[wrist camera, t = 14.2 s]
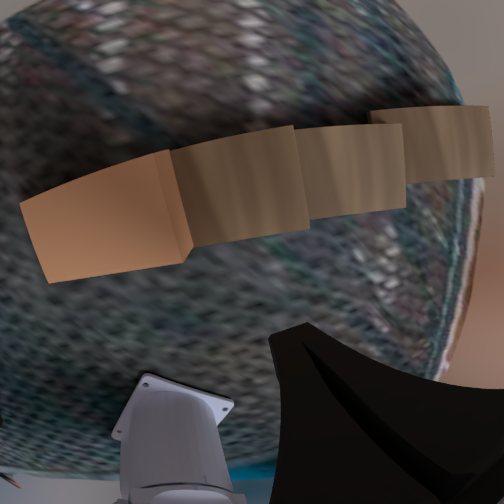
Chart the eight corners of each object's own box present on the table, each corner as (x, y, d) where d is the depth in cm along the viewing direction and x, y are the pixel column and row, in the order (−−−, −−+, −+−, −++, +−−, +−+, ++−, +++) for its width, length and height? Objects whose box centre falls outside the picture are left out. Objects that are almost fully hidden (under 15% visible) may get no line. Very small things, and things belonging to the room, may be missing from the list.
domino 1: (48, 283, 15) (183, 262, 13) (19, 203, 13) (153, 153, 12) (66, 268, 17) (193, 245, 15) (40, 194, 15) (168, 149, 13)
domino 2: (140, 256, 16) (310, 228, 14) (114, 167, 14) (293, 124, 13) (153, 243, 18) (306, 216, 16) (130, 162, 16) (290, 125, 14)
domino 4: (382, 186, 18) (494, 176, 15) (369, 110, 16) (488, 106, 13) (377, 180, 20) (482, 170, 17) (365, 111, 18) (475, 105, 15)
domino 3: (257, 227, 17) (406, 207, 16) (242, 136, 15) (401, 123, 14) (256, 217, 19) (392, 199, 18) (243, 136, 17) (387, 123, 16)
